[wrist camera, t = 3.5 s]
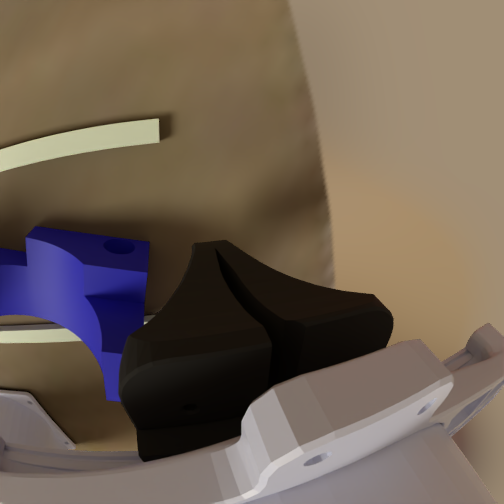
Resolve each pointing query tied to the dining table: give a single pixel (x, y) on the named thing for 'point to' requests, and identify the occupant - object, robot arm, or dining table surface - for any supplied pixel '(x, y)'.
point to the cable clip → (80, 289)
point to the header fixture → (62, 147)
